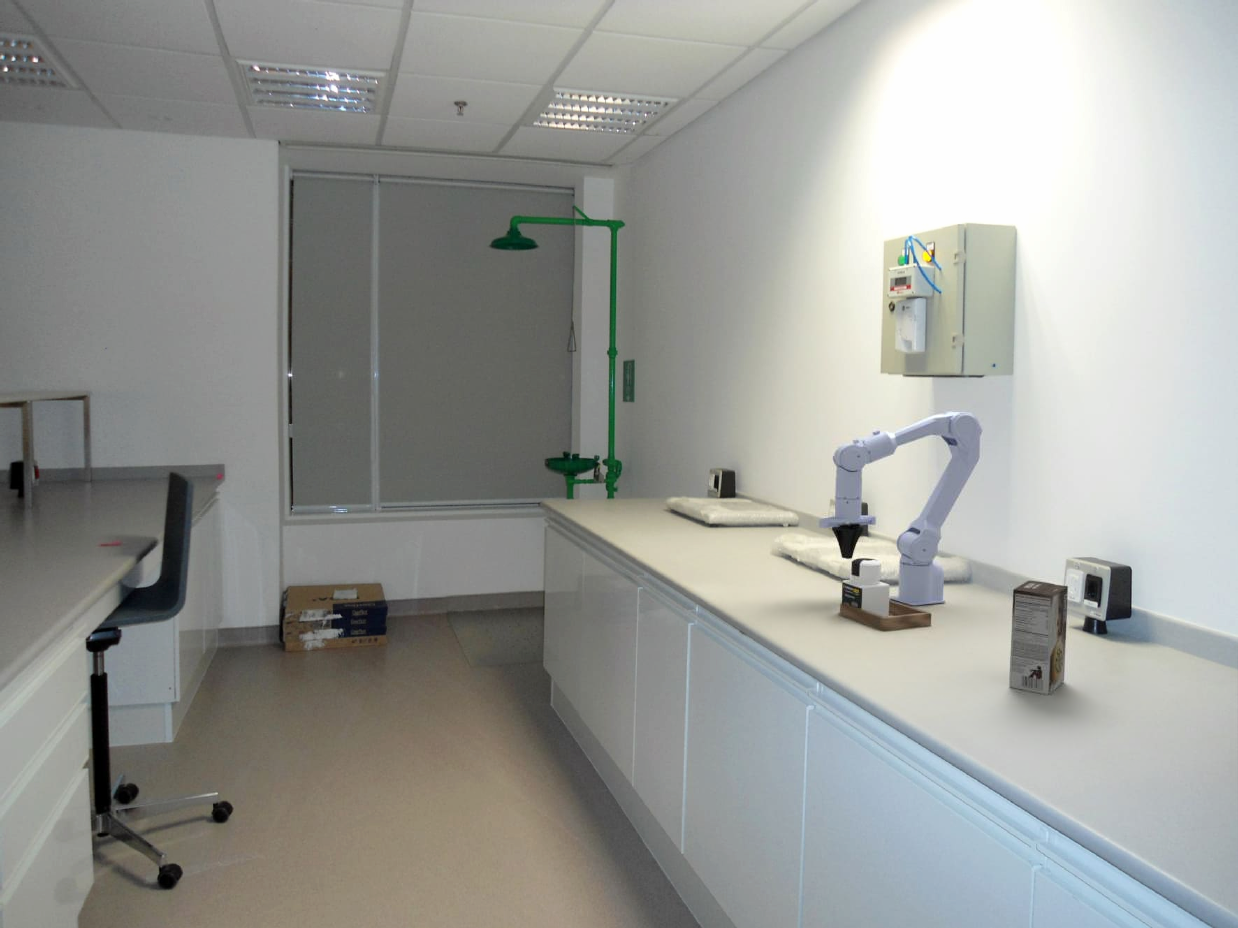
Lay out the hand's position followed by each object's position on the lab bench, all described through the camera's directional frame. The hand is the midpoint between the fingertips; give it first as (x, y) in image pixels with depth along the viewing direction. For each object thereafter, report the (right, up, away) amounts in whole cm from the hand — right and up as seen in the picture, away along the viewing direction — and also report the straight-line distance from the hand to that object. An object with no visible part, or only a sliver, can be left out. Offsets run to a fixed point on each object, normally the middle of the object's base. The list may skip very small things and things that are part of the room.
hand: (846, 557), depth 209 cm
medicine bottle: (+1, -11, -12) cm, 17 cm away
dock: (+4, -11, -16) cm, 20 cm away
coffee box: (+17, -15, -58) cm, 62 cm away
